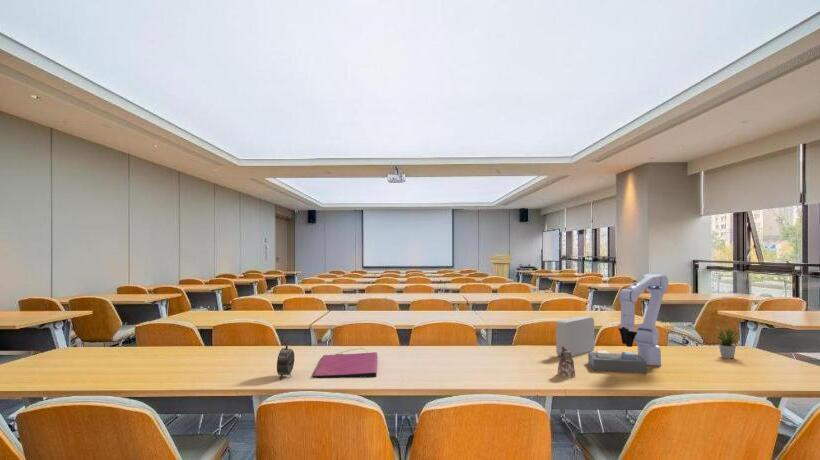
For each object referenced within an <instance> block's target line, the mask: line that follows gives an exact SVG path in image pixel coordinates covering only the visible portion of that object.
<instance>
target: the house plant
mask: <svg viewBox="0 0 820 460" xmlns="http://www.w3.org/2000/svg"><path fill="white" fill-rule="evenodd" d="M722 327H723V329H724V330H725V334H726V335H725V334H724V332H723V330H722V329H721V328H719V327H718V326H716V328H717V329H718V331H717V333H718V335H719V336H718V335H715V338H716V340H717V341H719V342H720V343H719V344H718V346H719V351H720V352H719V353H720V356H722V357H721V358H723V357H724V358H723V359H729V358H733V359H735V353H736V347H737V346H736V345H735V344H733V343H738V341H739V342H741V340H740V339H738V338H739V336H737V335H738V334H739V333H740V329H742V328H740V327H739V328H735V329H734V328H733V329H730V328H729V327H728V326H727V327H726V326H724V325H722ZM713 329H714V328H713ZM714 330H715V329H714ZM738 330H739V331H738ZM715 331H716V330H715ZM736 336H737V337H736ZM736 340H737V341H736Z"/></svg>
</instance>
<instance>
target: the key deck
mask: <svg viewBox="0 0 820 460" xmlns="http://www.w3.org/2000/svg"><path fill="white" fill-rule="evenodd" d="M609 353H610V352H609ZM587 354H588V355H587V356H588V357H587V358H588V359H587V360H588V364H589V366H590V367H591V369H592V370H593V371H596V372H612V373H614V372H615V373H630V374H646V375H647V374H648V365H647V362H646V361H645V360H644V359H642V358H641V357H640V356H639V355H638V354H636V359H623V358H622V353H610V358H599V357H597V352H594V351H593V352H592V351H590V352H587Z"/></svg>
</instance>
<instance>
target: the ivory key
mask: <svg viewBox="0 0 820 460" xmlns="http://www.w3.org/2000/svg"><path fill="white" fill-rule="evenodd" d="M596 353H597V357H599V358H610V352H609V350H596Z"/></svg>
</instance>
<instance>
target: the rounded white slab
mask: <svg viewBox="0 0 820 460" xmlns="http://www.w3.org/2000/svg"><path fill="white" fill-rule="evenodd" d="M555 337H556V338H555V340H556V341H555V346H556V356H559V357H561V352H562V347H564V348H569V349H570V350H571V354H572V358H573V357H576V356H580V355H584V354H586V353H587V354H588V352H592V351H593V352H594V350H595V346H596V345H595V344H596V343H595V341H596V340H595V339H596V338H595V319H594V317H591V316H577V317H571V318H566V319H561V320H558V321H557V322H556V325H555Z"/></svg>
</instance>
